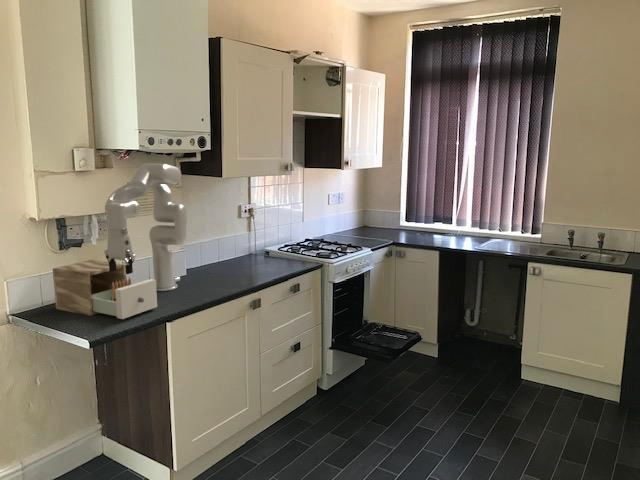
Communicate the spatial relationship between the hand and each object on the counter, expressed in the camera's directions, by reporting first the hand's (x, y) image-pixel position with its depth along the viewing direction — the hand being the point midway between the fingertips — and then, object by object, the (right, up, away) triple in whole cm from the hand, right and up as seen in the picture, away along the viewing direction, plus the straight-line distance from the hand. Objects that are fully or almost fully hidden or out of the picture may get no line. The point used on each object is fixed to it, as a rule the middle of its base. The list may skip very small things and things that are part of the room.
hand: (121, 272), depth 228 cm
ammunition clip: (0, -15, +2) cm, 15 cm away
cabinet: (-17, -16, +11) cm, 26 cm away
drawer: (0, -16, +2) cm, 16 cm away
